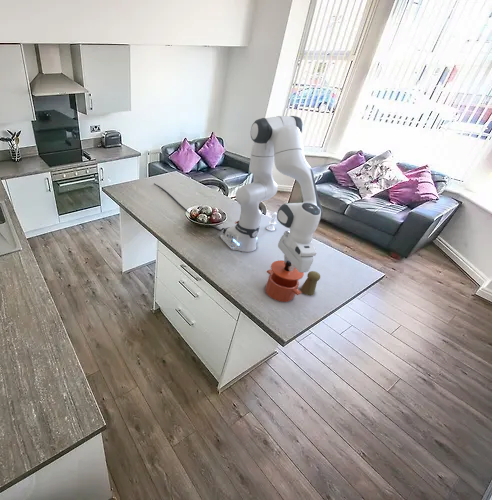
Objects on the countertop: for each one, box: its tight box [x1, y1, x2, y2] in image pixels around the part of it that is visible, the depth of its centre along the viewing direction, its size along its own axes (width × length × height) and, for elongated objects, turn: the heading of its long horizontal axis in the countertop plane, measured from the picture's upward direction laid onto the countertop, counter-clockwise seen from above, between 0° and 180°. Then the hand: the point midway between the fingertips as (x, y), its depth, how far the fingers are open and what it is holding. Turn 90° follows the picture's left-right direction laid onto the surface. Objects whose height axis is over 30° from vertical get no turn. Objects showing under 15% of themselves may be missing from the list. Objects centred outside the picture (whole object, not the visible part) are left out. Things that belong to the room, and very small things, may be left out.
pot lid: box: [270, 260, 305, 281], centre depth 129 cm, size 14×14×5 cm
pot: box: [264, 268, 303, 303], centre depth 135 cm, size 13×18×8 cm
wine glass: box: [265, 211, 277, 232], centre depth 184 cm, size 5×5×12 cm
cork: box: [299, 270, 321, 296], centre depth 135 cm, size 6×6×11 cm
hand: (288, 267), depth 129 cm, fingers closed on pot lid, 2 cm apart
